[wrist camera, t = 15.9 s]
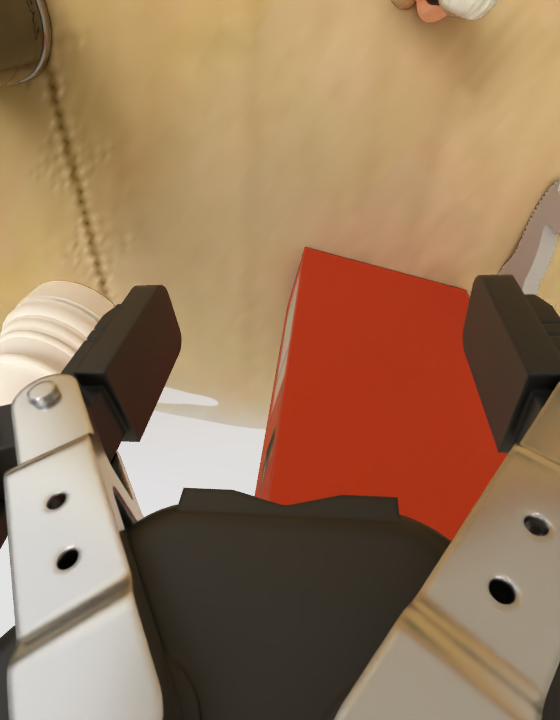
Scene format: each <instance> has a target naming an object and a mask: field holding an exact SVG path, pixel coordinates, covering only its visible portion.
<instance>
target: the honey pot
mask: <svg viewBox="0 0 560 720" xmlns="http://www.w3.org/2000/svg"><path fill="white" fill-rule="evenodd" d="M114 307H115V306H114V305H113V304H112V303H111V302H110V301H109V300H108V299H107V298H105V297H104V296H102V295H101V294H99V293H98V292H96V291H95V290H93V289H90V288H88V287H86V286H84V285H81V284H78V283H73V282H69V281H50V282H46V283H43V284H40V285H39V286H38V287H36V288H35V289H34V290H32V291H31V292H30V293H29V294H28V295H27V296H26V297H25V298H24V299H23V300H22V301H21V302H20V303H19V304H18V305H17V307H15V308H14V309H13V311H11V312H10V313H9V314H8V316H7V318H6V320H5V321H4V323H3V325H2V332H1V334H0V406H3V405H8V404H12V401H13V399H14V398H15V396H16V395H17V394H18V393H19V392H20V391H21V390H22V389H23V388H24V387H25V386H27V385H28V384H30V383H32V382H33V381H35V380H37V379H39V378H42V377H45V376H48V375H52V374H60V373H61V372H62V371H63V369H64V368H65V367H66V365H67V364H68V362H69V361H70V360H71V358H72V357H73V356H74V354H75V353H76V352H77V350H78V349H79V347H80V346H81V345H82V343H83V342H84V341H85V340H87V337H88V335H89V334H90V333H91V331H92V330H94V327H95V326H96V324H97V323H98V322H99V320H100V319H101V318H102V316H103V315H104V314H106V313H107V312H108V311H110V310H111V309H112V308H114Z"/></svg>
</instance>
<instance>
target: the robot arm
mask: <svg viewBox="0 0 560 720" xmlns="http://www.w3.org/2000/svg"><path fill="white" fill-rule="evenodd" d="M50 48H51V27H50V21H49V16H48V12H47V8H46V5H45V2H44V0H0V87H2V86H6V85H9V84H18V83H22V82H25V81H28V80H31V79H33V78H34V77H36V76H37V75H38V74H39V73H40V72H41V71H42V69H43V68H44V66H45V65H46V63H47V60H48V57H49V54H50ZM180 349H181V332H180V328H179V325H178V322H177V319H176V316H175V313H174V310H173V307H172V303H171V300H170V297H169V294H168V291H167V289H166V288H165V287H164V286H163V285H146V286H135V287H133V288H132V290H131V291H130V293H129V294H128V295H127V297H126V298H125V300H124V301H123V303H122V304H118V305H116V306H115V307H114V308H112V309H111V310H110V311H108V312H107V313H106V314H104V315H103V316H102V318H101V319H100V320H99V322H98V323H97V324H96V326H95V327H94V330H92V331H91V333H90V334H89V335H88V337H87V340H85V341H84V342H83V343H82V345H81V346H80V347H79V349H78V350H77V352H76V353H75V354H74V356H73V357H72V358H71V360H70V361H69V362H68V364H67V365H66V367H65V368H64V369H63V371H62V372H61V373H60V374H52V375H48V376H45V377H42V378H39V379H37V380H35V381H33V382H32V383H30V384H28V385H27V386H25V387H24V388H23V389H22V390H21V391H20V392H19V393H18V394H17V395H16V396H15V398H14V399H13V401H12V404H8V405H3V406H0V548H1V547H2V545H3V543H4V541H5V540H6V538H7V536H8V541H9V553H10V565H11V576H12V589H13V600H14V613H15V626H13V627H12V628H11V629H10V630H9V631H8V632H7V633H5V634H4V635H3V636H2V637H1V638H0V720H560V317H559V316H558V314H557V313H556V311H555V310H554V308H553V307H552V306H551V305H550V304H548V303H547V302H545V301H544V300H542V299H541V298H539V297H538V296H536V295H535V294H524V293H523V291H522V289H521V288H520V286H519V284H518V283H517V281H516V279H515V278H514V276H513V275H511V274H503V275H478V276H477V277H476V278H475V280H474V283H473V287H472V291H471V296H470V300H469V305H468V309H467V313H466V318H465V322H464V327H463V349H464V352H465V355H466V358H467V361H468V364H469V367H470V370H471V373H472V376H473V379H474V382H475V385H476V388H477V391H478V394H479V397H480V400H481V403H482V406H483V408H484V411H485V414H486V417H487V420H488V423H489V426H490V429H491V432H492V435H493V438H494V441H495V444H496V447H497V450H498V453H508V455H507V456H506V458H505V459H504V461H503V462H502V464H501V466H500V467H499V469H498V470H497V472H496V473H495V475H494V476H493V478H492V479H491V481H490V483H489V484H488V486H487V487H486V489H485V490H484V492H483V493H482V495H481V496H480V498H479V500H478V501H477V503H476V504H475V506H474V507H473V509H472V510H471V512H470V513H469V515H468V517H467V518H466V520H465V521H464V523H463V524H462V526H461V527H460V529H459V530H458V532H457V534H456V535H455V537H454V538H453V540H452V541H451V540H450V539H448V538H447V537H445V536H444V535H442V534H441V533H440V532H438V531H437V530H435V529H433V528H431V527H429V526H428V525H426V524H424V523H422V522H419V521H417V520H415V519H412V518H410V517H407V516H404V515H400V514H399V506H398V497H382V496H359V495H338V496H333V497H328V498H323V499H317V500H312V501H307V502H302V503H297V504H292V505H281V504H278V503H274V502H271V501H268V500H264V499H261V498H258V497H255V496H251V495H248V494H245V493H241V492H237V491H234V490H220V489H197V488H184V489H183V492H182V495H181V498H180V501H179V504H178V505H173V506H170V507H167V508H164V509H161V510H159V511H156V512H154V513H152V514H150V515H148V516H146V517H143V515H142V513H141V510H140V508H139V505H138V503H137V500H136V497H135V494H134V492H133V489H132V486H131V484H130V481H129V478H128V476H127V473H126V470H125V467H124V465H123V462H122V459H121V457H120V455H119V453H118V451H117V449H118V447H119V445H120V442H121V441H129V442H140V439H141V437H142V435H143V433H144V431H145V428H146V426H147V424H148V421H149V420H150V417H151V415H152V413H153V411H154V408H155V406H156V404H157V402H158V400H159V397H160V395H161V393H162V391H163V388H164V386H165V384H166V382H167V379H168V377H169V375H170V373H171V371H172V368H173V366H174V364H175V362H176V359H177V357H178V355H179V353H180Z"/></svg>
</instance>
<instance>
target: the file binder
mask: <svg viewBox="0 0 560 720" xmlns="http://www.w3.org/2000/svg"><path fill="white" fill-rule="evenodd" d="M469 300H470V298H469V296H468V294H467V291H466V290H463V289H459V288H455V287H452V286H448V285H444V284H440V283H437V282H433V281H429V280H425V279H422V278H418V277H414V276H411V275H407V274H403V273H399V272H396V271H392V270H388V269H384V268H381V267H377V266H373V265H369V264H366V263H362V262H358V261H355V260H351V259H347V258H343V257H340V256H336V255H332V254H328V253H325V252H321V251H317V250H313V249H310V248H306V247H305V249H304V252H303V255H302V259H301V262H300V266H299V269H298V272H297V276H296V279H295V283H294V286H293V289H292V293H291V296H290V300H289V303H288V307H287V312H286V317H285V323H284V329H283V335H282V341H281V346H280V352H279V358H278V364H277V370H276V375H275V381H274V387H273V393H272V399H271V405H270V410H269V416H268V422H267V428H266V434H265V439H264V446H263V451H262V457H261V463H260V469H259V474H258V480H257V486H256V492H255V497H258V498H261V499H264V500H268V501H271V502H274V503H278V504H281V505H292V504H297V503H302V502H307V501H312V500H317V499H323V498H328V497H333V496H338V495H359V496H382V497H398V506H399V514H400V515H404V516H407V517H410V518H412V519H415V520H417V521H419V522H422V523H424V524H426V525H428V526H429V527H431V528H433V529H435V530H437V531H438V532H440V533H441V534H442V535H444V536H445V537H447V538H448V539H450V540H451V541H452V540H453V538H454V537H455V535H456V534H457V532H458V530H459V529H460V527H461V526H462V524H463V523H464V521H465V520H466V518H467V517H468V515H469V513H470V512H471V510H472V509H473V507H474V506H475V504H476V503H477V501H478V500H479V498H480V496H481V495H482V493H483V492H484V490H485V489H486V487H487V486H488V484H489V483H490V481H491V479H492V478H493V476H494V475H495V473H496V472H497V470H498V469H499V467H500V466H501V464H502V462H503V461H504V459H505V458H506V456H507V455H508V453H498V450H497V447H496V444H495V441H494V438H493V435H492V432H491V429H490V426H489V423H488V420H487V417H486V414H485V411H484V408H483V406H482V403H481V400H480V397H479V394H478V391H477V388H476V385H475V382H474V379H473V376H472V373H471V370H470V367H469V364H468V361H467V358H466V355H465V352H464V349H463V327H464V322H465V318H466V313H467V309H468V305H469Z"/></svg>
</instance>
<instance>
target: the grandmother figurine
mask: <svg viewBox="0 0 560 720" xmlns="http://www.w3.org/2000/svg"><path fill="white" fill-rule="evenodd" d="M392 2H393V3H394V4H395V5H396V6H397V7H399V8H402V9H406V8H409V7H411V6H412V5H413V4H414V3H415V2H416V5H417V12H418V15H419V17H420V18H421V19H422V20H423V21H425V22H429V23H432V22H436V21H439V20H440V19H442V18H444V17H445V16H446V15H448V16H450V17H454V18H465V19H467V20H471V21H472V20H477V19H480V18H482V17H483V16H484V15H486V14H487V13H488V12H489V11H490V10H491V9H492V8H493V7H494V6H495V5H496V3H497V2H498V0H392Z"/></svg>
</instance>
